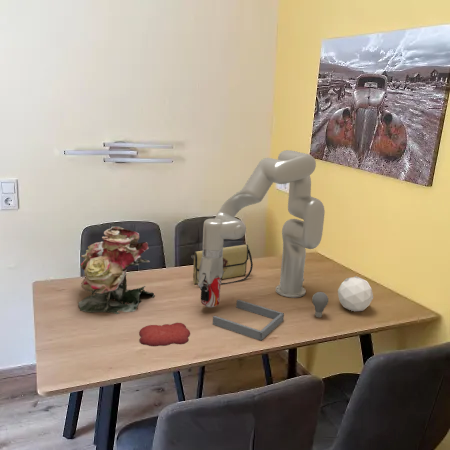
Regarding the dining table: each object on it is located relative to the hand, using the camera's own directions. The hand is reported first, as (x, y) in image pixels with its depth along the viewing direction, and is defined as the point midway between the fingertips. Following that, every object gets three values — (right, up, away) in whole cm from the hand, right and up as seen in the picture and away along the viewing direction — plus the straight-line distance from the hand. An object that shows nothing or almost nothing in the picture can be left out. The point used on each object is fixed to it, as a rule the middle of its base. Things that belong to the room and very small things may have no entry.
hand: (210, 296), depth 176 cm
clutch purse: (+5, +2, +30) cm, 30 cm away
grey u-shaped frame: (+14, -8, -7) cm, 18 cm away
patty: (-15, -11, -18) cm, 26 cm away
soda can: (0, -3, +1) cm, 3 cm away
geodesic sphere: (+56, -6, +9) cm, 57 cm away
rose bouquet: (-38, -3, +5) cm, 39 cm away
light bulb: (+41, -8, +1) cm, 42 cm away
